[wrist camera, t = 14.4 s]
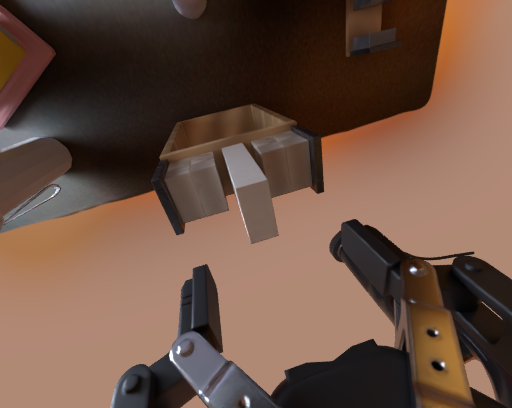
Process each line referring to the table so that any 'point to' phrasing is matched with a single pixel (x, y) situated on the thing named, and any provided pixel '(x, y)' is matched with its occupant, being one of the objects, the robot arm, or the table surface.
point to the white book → (251, 193)
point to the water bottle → (30, 172)
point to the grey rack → (367, 28)
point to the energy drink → (190, 7)
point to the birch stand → (221, 126)
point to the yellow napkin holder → (19, 62)
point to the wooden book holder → (217, 177)
